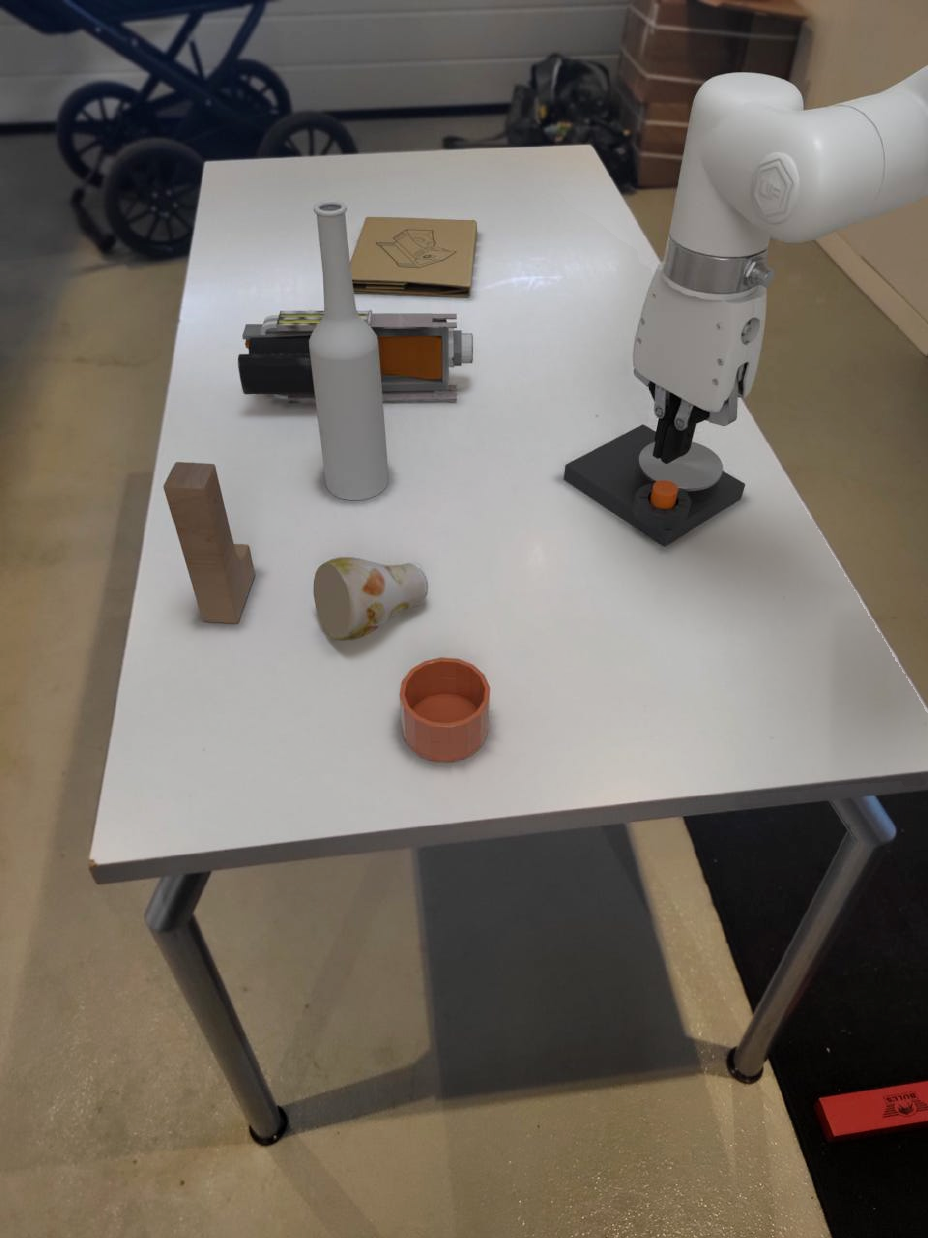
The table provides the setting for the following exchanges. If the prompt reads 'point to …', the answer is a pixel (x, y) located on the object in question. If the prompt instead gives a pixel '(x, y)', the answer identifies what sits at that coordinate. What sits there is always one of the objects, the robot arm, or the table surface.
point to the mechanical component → (406, 353)
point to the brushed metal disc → (683, 468)
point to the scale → (645, 489)
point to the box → (414, 257)
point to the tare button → (664, 494)
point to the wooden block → (209, 542)
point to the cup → (445, 709)
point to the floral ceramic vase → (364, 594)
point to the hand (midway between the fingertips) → (669, 454)
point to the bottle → (346, 373)
